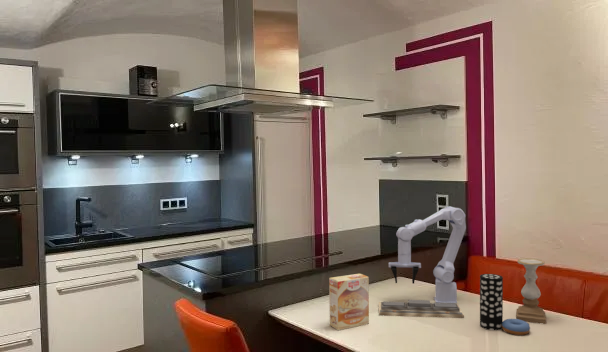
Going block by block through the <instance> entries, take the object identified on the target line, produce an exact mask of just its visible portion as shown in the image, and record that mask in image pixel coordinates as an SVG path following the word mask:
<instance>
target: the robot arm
mask: <svg viewBox="0 0 608 352" xmlns="http://www.w3.org/2000/svg"><path fill="white" fill-rule="evenodd" d="M466 216H467V215H466V214H465V212H464V211H463V209H461V208H460V207H454V206H450V205H448V206H445V207H444V208H441V209H439V210H438V211H437V212H434V213H433V214H431V215H430V216H428V217H426V218H424V219H419V218H418V219H414V220H413V222H411V223H409V224H405V225H404V226H400V227H399V228H398V230H397V231H396V233H395V234H396V237H397V243H398V244H397V254H398V255H397V261H394V262H392V261H391V262H388V268H390V269H391V270H390V271H391V272H392V275H393V276H394V281H395V282H394V283H395V284H398V278H397V275H398V274H397V269H398V268H412V276H411V277H412V280H411V282H412V284H415V281H416V277H417V275H418V272H419V271H420V270H419V269H421V268H422V263H421V262H413V261H412V247H411V246H412V243H411V242H412V241H411V240H412V239H413V237H416V236H417V235H418V234H421V233H422V232H425V231H426V230H427V227H428V226H431V225H433V224H435V223H437V222H439V221H442V220H443V221H448V222H449V224H450V225H451V226H452V230H451V233H450V236H449V239H448V240H447V241H448V242H447V245H446V247H445V250H444V253H443V255H442V259H441V260H439V261H438V263H437V265H436V266H435V267H434V269H433V270H432V272H433V273H432V274H433V276H434V277H435V281H434V283H435V291H434V292H435V294H434V295H435V296H434V297H433V300H434V301H435V302H434V303H455V304H458V300H457V299H458V298H457V297H458V296H457V295H458V290H457V289H458V288H457V282H455V281H453V280H454V279H455V276H454V275H455V274H454V273H455V270H456V269H455V266H454V263H455V260H456V257H457V255H458V252H459V249H460V246H461V245H462V244H461V243H462V242H463V241H462V240H463V238H464V235H465V233H466V230H467V224H466Z"/></svg>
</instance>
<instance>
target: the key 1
mask: <svg viewBox="0 0 608 352" xmlns="http://www.w3.org/2000/svg"><path fill="white" fill-rule="evenodd" d="M382 302H383V306H398V307H405V305H404V301H382Z"/></svg>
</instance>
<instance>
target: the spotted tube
mask: <svg viewBox="0 0 608 352" xmlns="http://www.w3.org/2000/svg"><path fill="white" fill-rule="evenodd" d="M479 278H480V279H479V327H480V328H482V329H484V330H488V331H501V330H503V329H502V322H503V321H504V319H503V318H504V317H503V314H504V312H503V311H504V309H503V305H504V304H503V301H504V298H503V292H504V287H503V286H504V285H503V284H504V283H503V282H504V280H503V279H504V277H503V276H502V275H500V274H495V273H483V274H480V275H479Z"/></svg>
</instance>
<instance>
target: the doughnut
mask: <svg viewBox="0 0 608 352" xmlns="http://www.w3.org/2000/svg"><path fill="white" fill-rule="evenodd" d="M501 330H503V331H504V332H505V333H506V334H509V333H510V334H511V335H513V334H514V336H525V335H527V334H529V333H530V331H531V326H530V324H529V322H525V321H523V320H519V319H516V318H506V319H503V322H502V329H501ZM510 334H509V335H510Z"/></svg>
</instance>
